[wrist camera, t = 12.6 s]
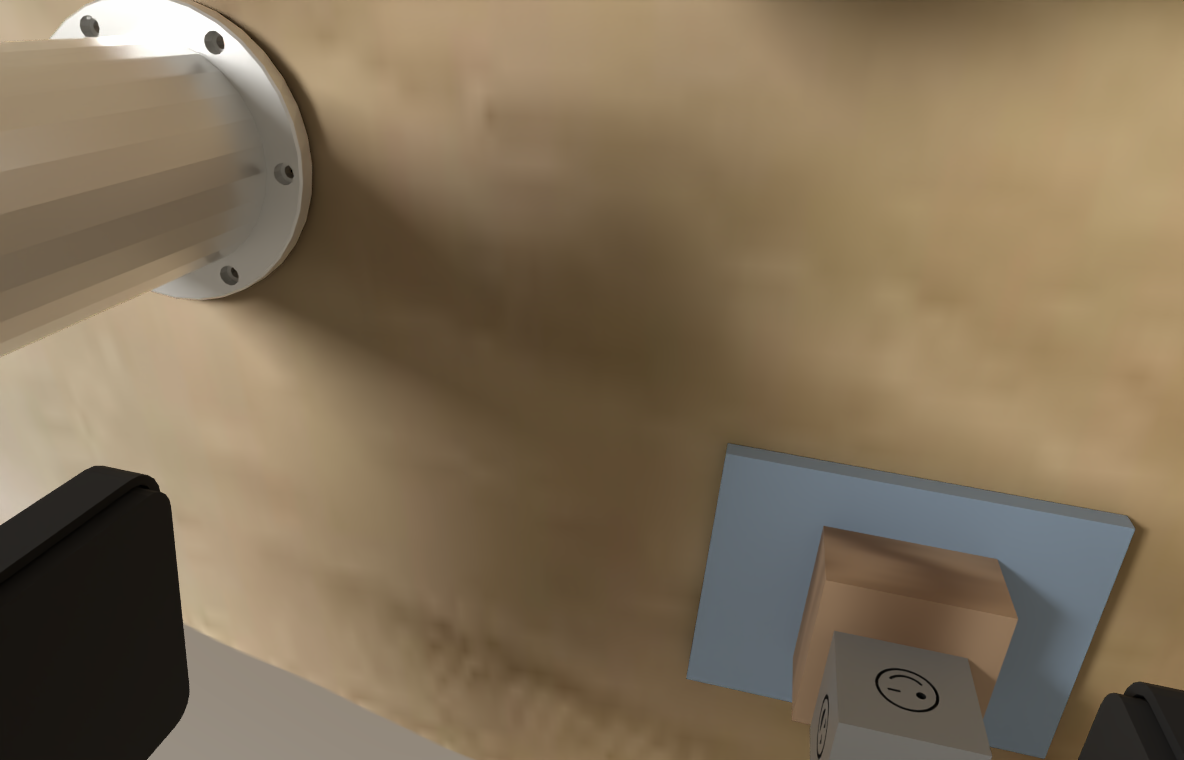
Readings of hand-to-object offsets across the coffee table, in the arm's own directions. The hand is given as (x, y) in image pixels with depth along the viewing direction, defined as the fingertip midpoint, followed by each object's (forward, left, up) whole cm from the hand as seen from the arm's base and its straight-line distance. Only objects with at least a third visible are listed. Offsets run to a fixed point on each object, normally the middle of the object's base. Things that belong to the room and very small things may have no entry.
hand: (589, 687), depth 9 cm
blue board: (+9, -17, -28) cm, 34 cm away
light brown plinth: (+9, -17, -27) cm, 33 cm away
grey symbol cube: (+9, -18, -24) cm, 31 cm away
